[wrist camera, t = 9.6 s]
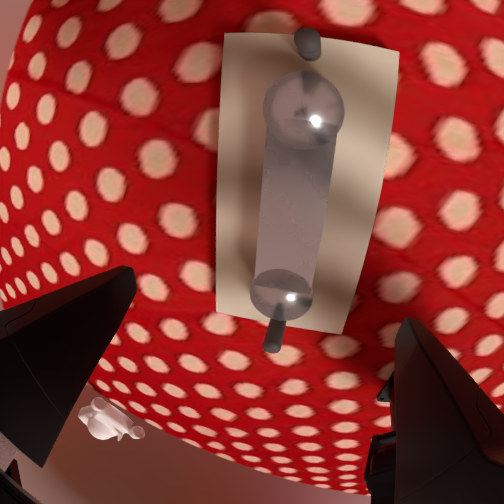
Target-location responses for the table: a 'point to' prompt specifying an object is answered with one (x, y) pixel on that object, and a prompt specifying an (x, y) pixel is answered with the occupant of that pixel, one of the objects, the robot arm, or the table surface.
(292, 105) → the grey baby rattle
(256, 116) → the peg rack
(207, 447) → the table surface
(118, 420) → the plane toy
